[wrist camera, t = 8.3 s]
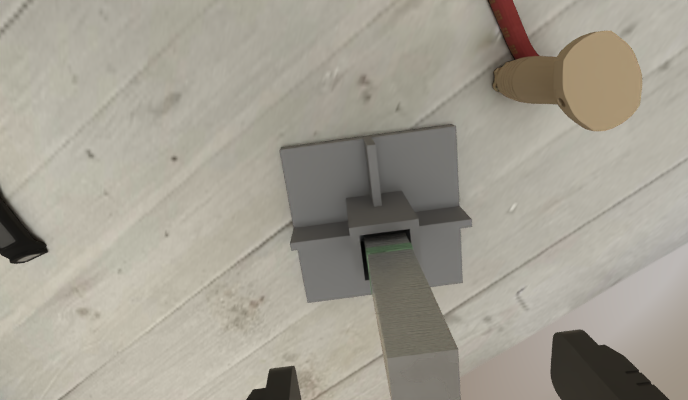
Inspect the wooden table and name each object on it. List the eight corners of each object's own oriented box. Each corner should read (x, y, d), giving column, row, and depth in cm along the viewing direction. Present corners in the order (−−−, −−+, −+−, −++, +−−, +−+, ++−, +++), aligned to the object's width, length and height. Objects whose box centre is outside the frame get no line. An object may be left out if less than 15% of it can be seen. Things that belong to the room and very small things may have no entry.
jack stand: (308, 295, 47) (300, 370, 35) (281, 147, 42) (260, 177, 30) (458, 276, 47) (501, 345, 35) (451, 124, 41) (499, 145, 29)
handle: (498, 119, 41) (586, 144, 27) (470, 64, 40) (548, 60, 25) (540, 93, 41) (653, 104, 26) (514, 36, 39) (620, 15, 25)
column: (366, 265, 37) (392, 414, 21) (362, 229, 36) (386, 357, 20) (405, 260, 37) (461, 405, 21) (402, 224, 36) (459, 348, 20)
